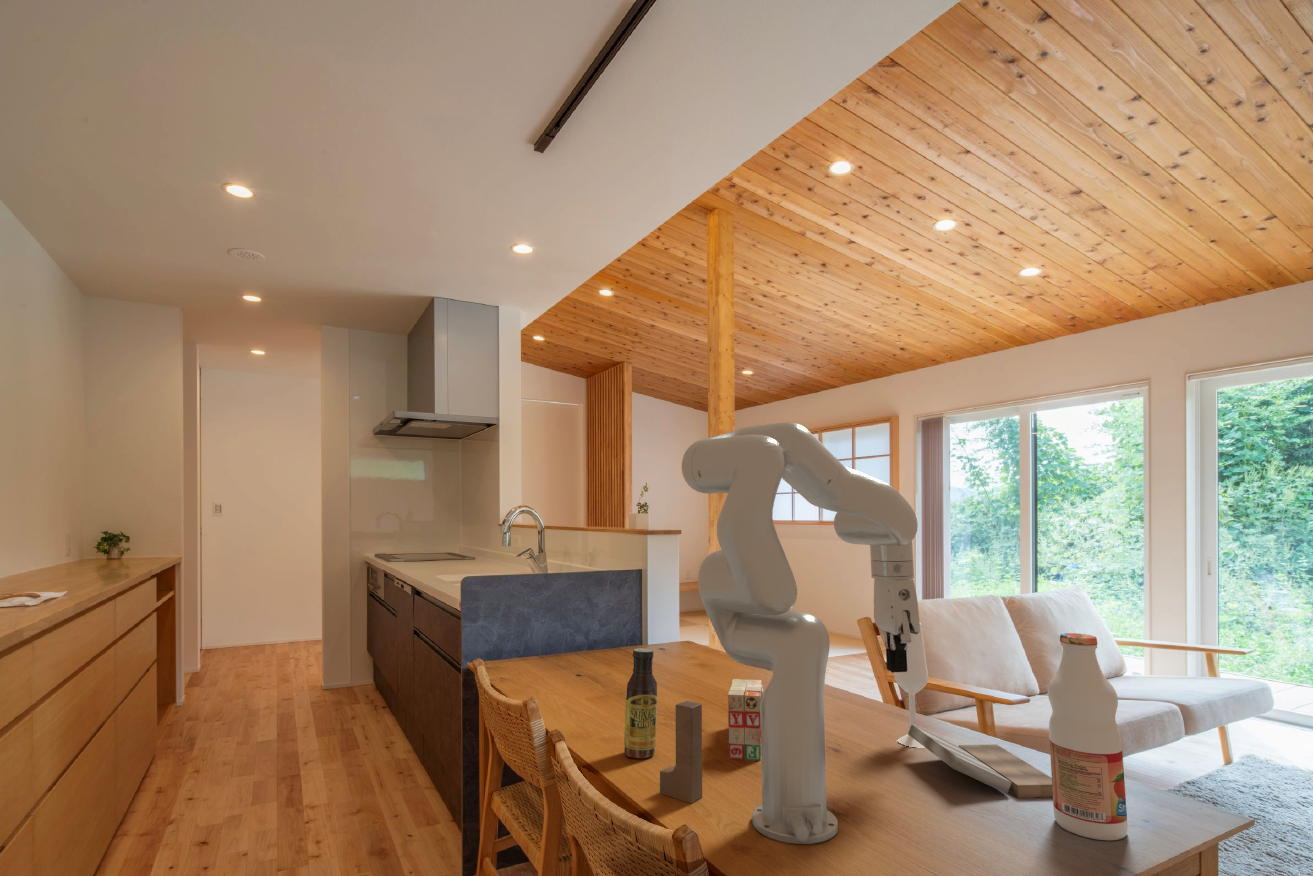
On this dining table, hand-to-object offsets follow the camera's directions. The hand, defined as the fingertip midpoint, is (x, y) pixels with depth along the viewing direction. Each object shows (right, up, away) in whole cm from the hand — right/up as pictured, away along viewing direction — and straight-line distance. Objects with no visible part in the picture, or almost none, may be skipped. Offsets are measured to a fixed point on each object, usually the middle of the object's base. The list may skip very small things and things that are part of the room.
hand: (897, 670), depth 127 cm
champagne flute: (+8, -20, +14) cm, 26 cm away
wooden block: (-40, -17, -12) cm, 45 cm away
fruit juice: (+21, -16, -24) cm, 35 cm away
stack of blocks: (-25, -20, +15) cm, 36 cm away
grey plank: (+9, -15, -3) cm, 18 cm away
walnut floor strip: (+19, -18, -3) cm, 26 cm away
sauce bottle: (-47, -19, +7) cm, 51 cm away
